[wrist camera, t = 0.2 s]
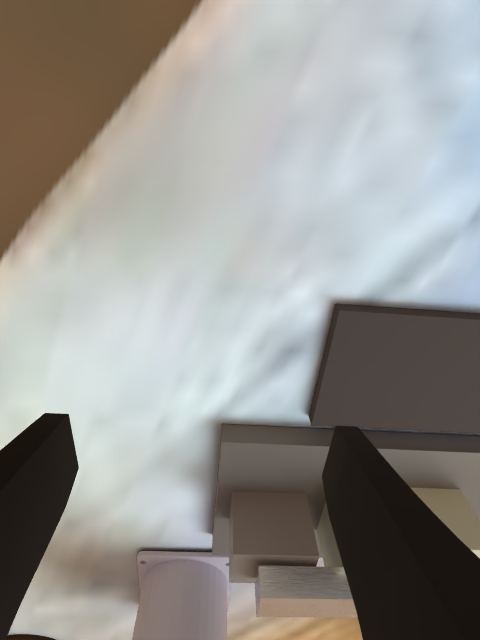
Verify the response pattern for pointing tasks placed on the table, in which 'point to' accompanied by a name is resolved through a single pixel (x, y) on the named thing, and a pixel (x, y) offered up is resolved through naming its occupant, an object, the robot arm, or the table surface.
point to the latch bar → (303, 592)
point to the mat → (400, 370)
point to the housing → (312, 487)
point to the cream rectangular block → (440, 501)
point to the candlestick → (27, 637)
